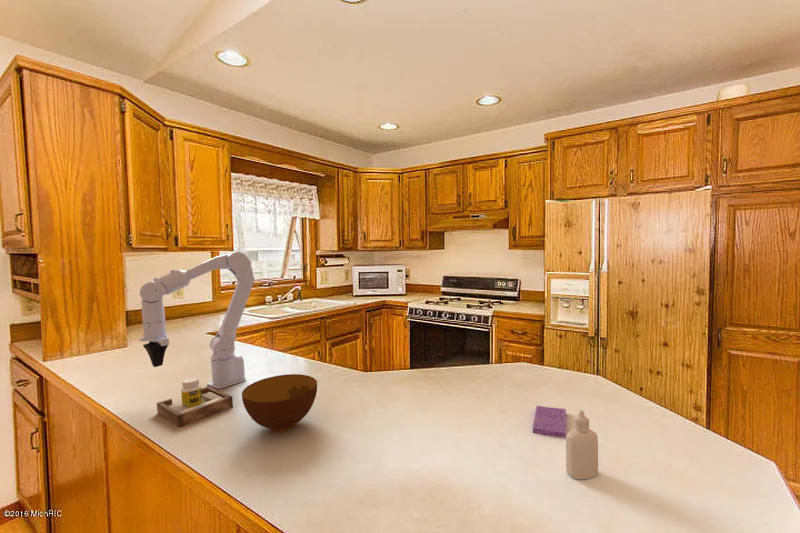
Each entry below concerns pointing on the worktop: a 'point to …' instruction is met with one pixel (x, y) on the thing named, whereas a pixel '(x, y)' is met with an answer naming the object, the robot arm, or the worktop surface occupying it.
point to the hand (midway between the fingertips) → (157, 365)
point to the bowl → (280, 400)
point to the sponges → (550, 421)
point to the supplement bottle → (191, 393)
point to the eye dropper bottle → (581, 449)
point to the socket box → (195, 407)
